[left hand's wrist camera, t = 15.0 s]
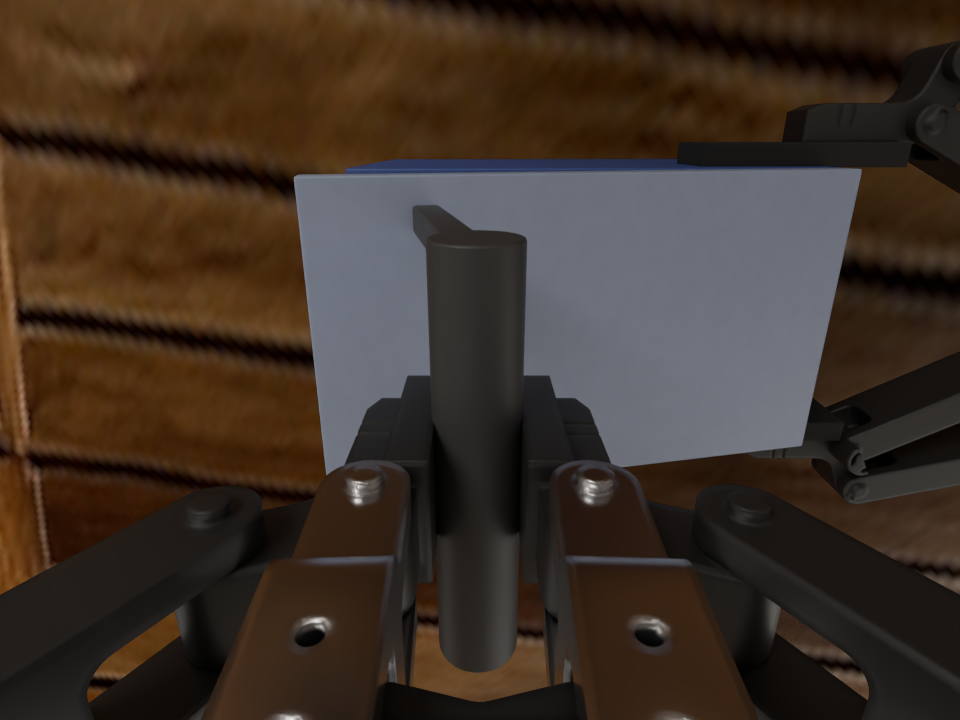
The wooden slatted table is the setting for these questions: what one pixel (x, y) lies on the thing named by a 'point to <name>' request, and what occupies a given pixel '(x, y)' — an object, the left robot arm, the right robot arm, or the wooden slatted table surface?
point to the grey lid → (566, 329)
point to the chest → (533, 165)
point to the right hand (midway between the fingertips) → (673, 295)
